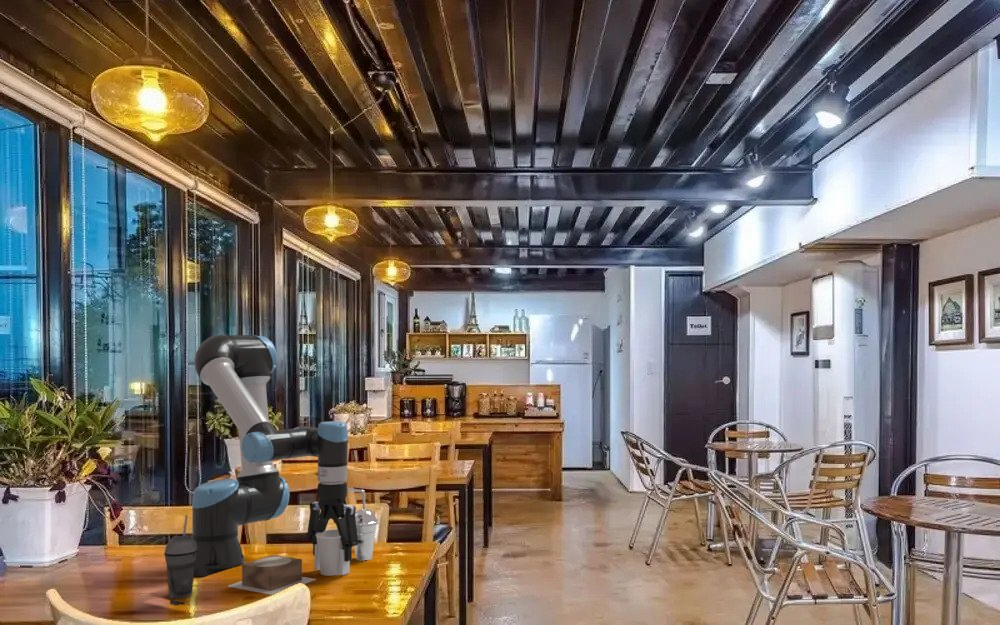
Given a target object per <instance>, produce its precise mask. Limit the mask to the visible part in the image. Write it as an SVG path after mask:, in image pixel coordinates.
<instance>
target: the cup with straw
mask: <svg viewBox="0 0 1000 625" xmlns="http://www.w3.org/2000/svg"><path fill="white" fill-rule="evenodd" d="M348 491H349V492H356V493H362V509H361V508H359V509H358V510H357V511H355V520H356V528H357V535H358V545H356V546H353V547H354V553H355V560H356V561H361V562H366V561H365V560H367V561H370V560H372V559H373V553H374V545H375V535H376V532H377V531H376V530H377V525H379V524H380V521H379V519H378V518H377V516H376V514H375V512H373V511H372V510H371V509H368V508H366V492H365V490H363V489H359V488H350V487H347V492H348Z"/></svg>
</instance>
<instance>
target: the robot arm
mask: <svg viewBox="0 0 1000 625" xmlns="http://www.w3.org/2000/svg"><path fill="white" fill-rule="evenodd" d="M277 363H278V355H277V350H276V347H275V345H274V343H273V341H271V340H270V339H269V338H268V337H266V336H264V335H255V334H237V335H236V334H216V335H213V336H210V337H208V338H206V339H205V340H204V341H203V342H202V343H200V345H199V346H198V348H197V350H196V352H195V356H194V369H195V371H196V374H197V376H198V378H199V380H201V381H202V383H203V384H205V385H206V386H209V387H210V389H211V390H212V392H213V394H214V395H215V396H216V398H217V400H218V401H219V402H220V404H221V405H222V407H223V408H224V410H225V411H226V413H227V414H228V415H229V417H230V419H231V420H232V422H233V423H234V425H235V426H236V428H237V429H238V436H239V437H238V438H239V450H240V452H239V453H240V462H241V470H240V472H239V473H238V474H237V475H236V479H235V478H223V479H215V480H210V481H207V482H205V483H202V484H200V485H198V486H197V487H196V488H195V489H194V490H193V494H192V502H191V506H192V514H191V515H192V522H191V523H192V529H191V530H192V531H191V532H192V533H191V534H192V536H191V537H192V538H193V539H194V540H195V542H196V545H197V550H198V551H197V555H196V559H195V567H194V577H208V576H212V575H214V574H218V573H221V572H224V571H228V570H230V569H231V570H232V569H234V568H237V567H242V564H245V555H244V553H243V549H242V546H241V543H240V540H239V526H243V525H247V524H253V523H257V522H258V523H259V522H263V521H265V522H266V521H270V520H272V519H276V518H278V517H280V516H282V515H283V514H284V513H285V511H286V509H287V507H288V505H289V502H290V487H289V484H288V483H287V480H286V479H285V478H284V477H282V476H280V470H279V469H277V467H275V465H274V462H273V461H278V460H288V459H296V458H301V457H302V458H303V457H315V458H317V481H318V484H317V497H318V499H319V500H318V501H313V502H310V503H309V519H308V525H307V535H306V540H307V541H308V542H309V541H310V542H311V543H312V555H313V557H314V571H320V564H319V555H318V546H317V537H316V533H318V532H319V533H322V532H324V531H325V530H327V526H328V523H329V521H330V520H333V523H334V524H335V526H336V529H338V532H339V536H341V538H340V539H341V542H342V545H343V547H342V548H341V549H340V574H339V575H340V576H345V575H347V574H350V573H351V570H350V569H351V564H350V563H351V561H352V558H353V557H352V555H353V554H352V553H353V552H352V551H353V550H352V548H353V547H354V546H356V545H358V535H357V528H356V520H355V512H357V511H356V509H357V508H356V505H352V506H351V505H348V504H347V501H346V498H347V496H348V491H347V488H348V483H347V481H348V457H349V456H348V450H349V448H348V445H349V444H348V443H349V434H348V424H347V423H346V422H345V421H338V420H337V421H335V420H334V421H333V420H332V421H321V422H319V423H318V427H311V426H307V425H306V426H305V425H304V426H297V427H294V428H292V429H291V428H288V429H280V430H279V429H278V430H277V429H275V427H274V426H273V424H272V423H271V421H270V420H269V409H268V408H269V407H268V398H267V397H268V396H267V383H268V382H269V381H270V379H271V374H272V373H273V372H274V371H275V369H276V368H277Z"/></svg>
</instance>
